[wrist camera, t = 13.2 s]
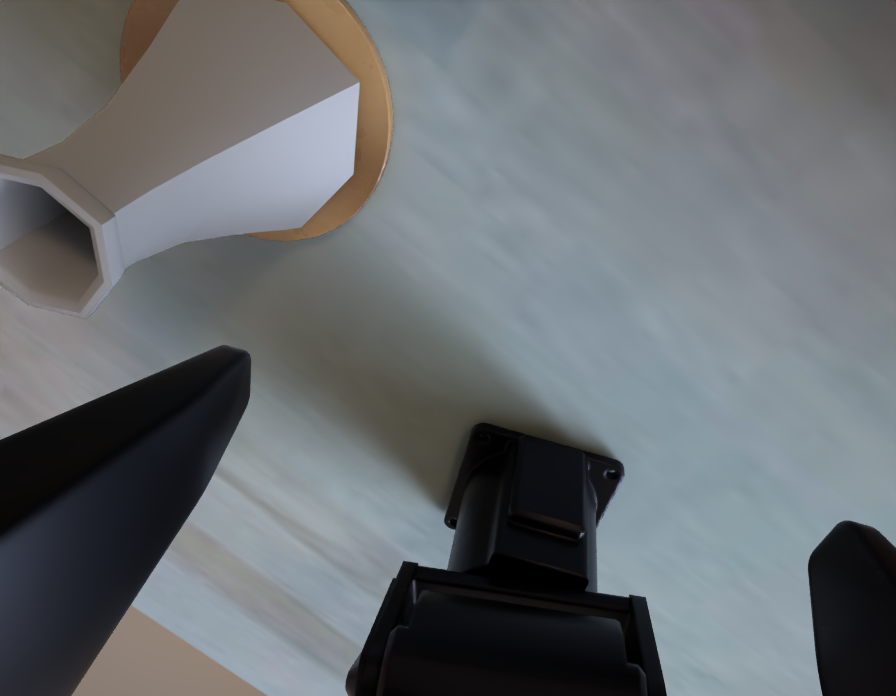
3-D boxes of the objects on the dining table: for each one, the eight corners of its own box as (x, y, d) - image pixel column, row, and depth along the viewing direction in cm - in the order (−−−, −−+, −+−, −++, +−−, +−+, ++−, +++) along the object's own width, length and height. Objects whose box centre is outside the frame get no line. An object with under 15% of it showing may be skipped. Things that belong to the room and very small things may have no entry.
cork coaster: (373, 263, 23) (369, 270, 23) (139, 199, 23) (131, 204, 23) (416, -12, 18) (412, -11, 17) (114, -92, 18) (104, -92, 18)
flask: (401, 67, 19) (258, 181, 10) (318, 256, 23) (169, 444, 15) (173, -68, 18) (-179, -60, 10) (130, 155, 22) (-142, 294, 14)
